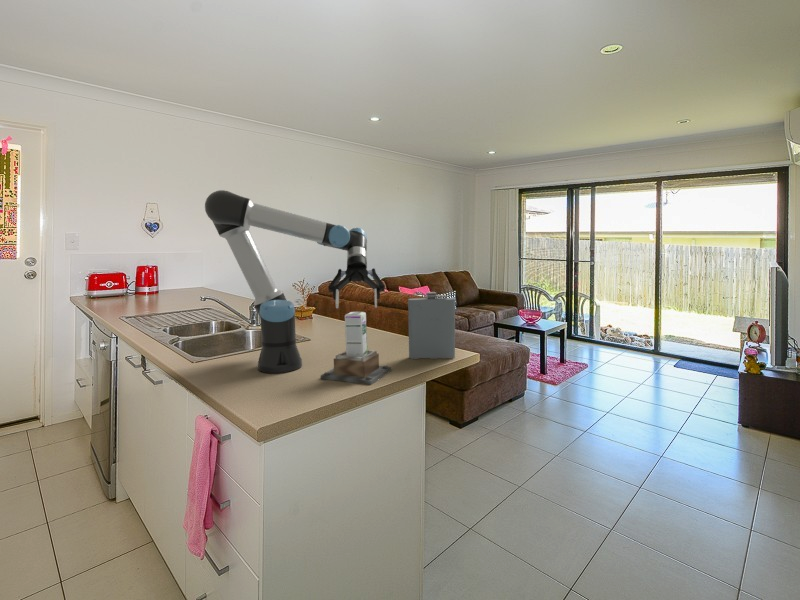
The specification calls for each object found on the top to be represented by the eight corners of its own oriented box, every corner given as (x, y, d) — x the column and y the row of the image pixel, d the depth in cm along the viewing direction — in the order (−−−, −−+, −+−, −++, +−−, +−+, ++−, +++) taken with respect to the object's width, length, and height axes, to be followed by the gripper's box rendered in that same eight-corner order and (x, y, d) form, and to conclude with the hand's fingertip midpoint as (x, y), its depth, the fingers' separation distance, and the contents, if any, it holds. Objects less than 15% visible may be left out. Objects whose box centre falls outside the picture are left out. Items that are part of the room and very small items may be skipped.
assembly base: (320, 378, 137) (319, 357, 136) (344, 365, 152) (344, 346, 151) (371, 384, 131) (370, 361, 130) (391, 370, 146) (390, 349, 145)
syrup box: (363, 358, 138) (362, 314, 136) (345, 358, 139) (344, 314, 137) (367, 354, 143) (366, 311, 141) (350, 353, 144) (349, 311, 142)
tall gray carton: (454, 355, 164) (454, 291, 161) (455, 358, 160) (455, 292, 156) (409, 355, 165) (408, 291, 162) (408, 359, 160) (408, 292, 157)
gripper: (389, 267, 166) (391, 311, 153) (325, 268, 165) (321, 312, 152) (389, 253, 160) (392, 298, 147) (322, 255, 159) (319, 299, 146)
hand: (356, 305), depth 149 cm, fingers open, 13 cm apart
